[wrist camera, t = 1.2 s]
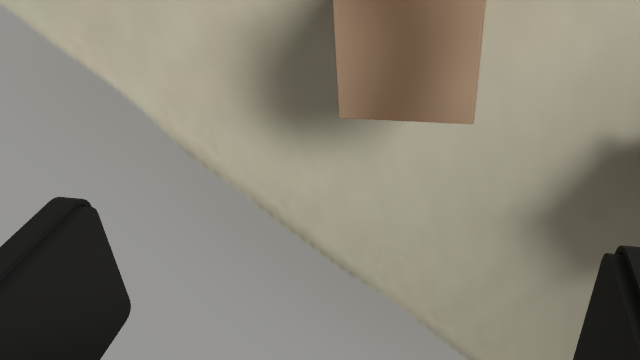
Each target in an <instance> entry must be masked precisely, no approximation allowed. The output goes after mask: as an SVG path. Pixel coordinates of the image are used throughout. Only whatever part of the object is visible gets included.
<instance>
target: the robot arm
mask: <svg viewBox="0 0 640 360" xmlns="http://www.w3.org/2000/svg"><path fill="white" fill-rule="evenodd" d="M130 309H131V304H130V299H129V297H128V294H127V291H126V289H125V286H124V283H123V280H122V278H121V275H120V272H119V269H118V267H117V264H116V261H115V259H114V256H113V253H112V250H111V247H110V245H109V242H108V239H107V237H106V234H105V231H104V229H103V226H102V223H101V220H100V218H99V215H98V213H97V211H96V209H94V208H93V207H91V205H90V203H89V202H88V201H87V200H84V199H76V198H65V197H57V198H54V199H52V200H51V201H50V202H48V203H47V204H46V205H45V206H44V207H43V208H42V209H41V210H40V211H39V212H38V213H37V214H36V215H34V216H33V217H32V218H31V219H30V220H29V221H28V222H27V223H26V224H25V225H24V226H23V227H22V228H20V229H19V230H18V231H17V232H16V233H15V234H14V235H13V236H12V237H11V238H10V239H9V240H8V241H6V242H5V243H4V244H3V245H2V246H1V247H0V360H100V359H101V357H102V356H103V354H104V353H105V351H106V350H107V349H108V347H109V345H110V344H111V343H112V341H113V340H114V338H115V337H116V335H117V334H118V332H119V331H120V329H121V327H122V326H123V325H124V323H125V322H126V320H127V318H128V317H129V314H130ZM573 360H640V247H632V246H619V247H618V248H617V250H616V252H615V254H609V253H606V254H604V256H603V258H602V261H601V264H600V268H599V271H598V275H597V278H596V282H595V285H594V289H593V292H592V296H591V299H590V303H589V306H588V310H587V313H586V317H585V320H584V323H583V327H582V330H581V334H580V337H579V341H578V344H577V348H576V351H575V355H574V358H573Z"/></svg>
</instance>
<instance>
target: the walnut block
mask: <svg viewBox="0 0 640 360" xmlns="http://www.w3.org/2000/svg"><path fill="white" fill-rule="evenodd" d="M485 5H486V0H333V12H334V30H335V49H336V67H337V85H338V103H339V118H354V119H375V120H396V121H417V122H438V123H458V124H474V117H475V107H476V97H477V87H478V77H479V66H480V56H481V46H482V36H483V26H484V15H485Z"/></svg>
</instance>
